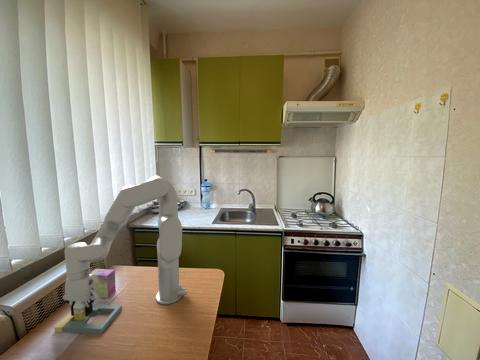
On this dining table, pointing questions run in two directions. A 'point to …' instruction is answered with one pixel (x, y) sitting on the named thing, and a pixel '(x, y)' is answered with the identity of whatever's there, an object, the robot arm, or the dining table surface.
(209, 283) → the dining table surface
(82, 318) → the supplement bottle
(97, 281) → the box
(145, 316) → the dining table surface
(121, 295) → the dining table surface
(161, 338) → the dining table surface
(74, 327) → the keyhole board
